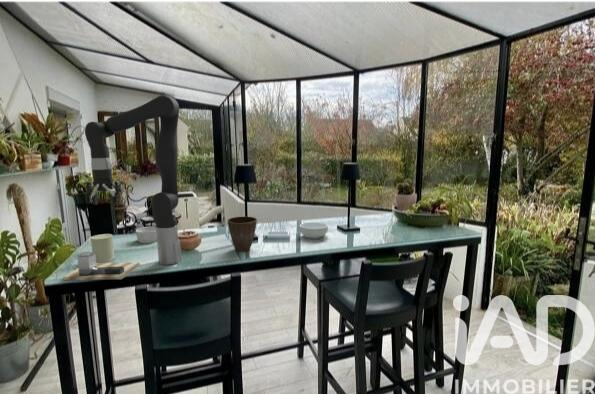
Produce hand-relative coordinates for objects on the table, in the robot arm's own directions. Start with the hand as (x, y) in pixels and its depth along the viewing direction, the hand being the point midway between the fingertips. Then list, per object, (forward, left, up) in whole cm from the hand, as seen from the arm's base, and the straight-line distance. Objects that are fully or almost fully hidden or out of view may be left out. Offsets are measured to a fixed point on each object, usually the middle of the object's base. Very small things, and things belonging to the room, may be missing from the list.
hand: (105, 204), depth 147 cm
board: (-2, +10, -28) cm, 30 cm away
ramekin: (-1, -37, -28) cm, 47 cm away
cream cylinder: (+7, -6, -28) cm, 30 cm away
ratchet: (-4, +14, -27) cm, 31 cm away
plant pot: (-58, -19, -28) cm, 67 cm away
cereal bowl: (-96, -41, -28) cm, 108 cm away
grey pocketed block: (+2, +14, -24) cm, 28 cm away
